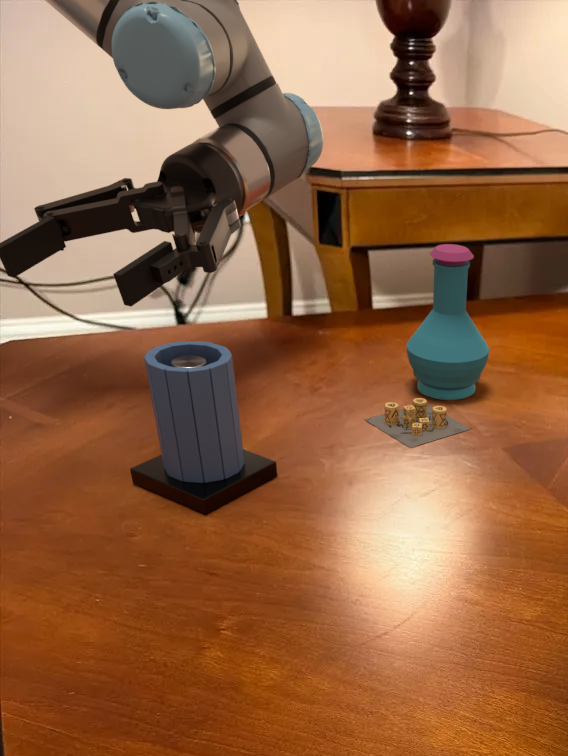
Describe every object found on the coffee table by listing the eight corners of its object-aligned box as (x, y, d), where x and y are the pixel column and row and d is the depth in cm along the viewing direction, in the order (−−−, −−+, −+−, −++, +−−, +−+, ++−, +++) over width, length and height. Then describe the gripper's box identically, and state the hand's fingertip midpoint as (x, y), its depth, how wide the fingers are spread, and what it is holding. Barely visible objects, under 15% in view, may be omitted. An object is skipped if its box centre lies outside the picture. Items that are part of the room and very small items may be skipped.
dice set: (381, 421, 91) (381, 404, 90) (420, 410, 94) (420, 393, 92) (411, 439, 88) (411, 421, 87) (449, 427, 91) (450, 410, 90)
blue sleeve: (148, 467, 77) (126, 356, 71) (205, 441, 82) (189, 335, 75) (203, 490, 74) (186, 377, 68) (259, 462, 79) (248, 354, 73)
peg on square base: (132, 483, 77) (107, 363, 71) (207, 448, 84) (190, 334, 77) (205, 515, 74) (186, 391, 67) (277, 476, 80) (267, 359, 73)
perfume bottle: (438, 411, 94) (443, 265, 85) (390, 382, 99) (389, 242, 90) (502, 393, 99) (514, 254, 89) (453, 367, 104) (459, 233, 95)
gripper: (324, 240, 86) (188, 345, 74) (130, 201, 94) (-22, 290, 81) (311, 159, 80) (161, 258, 68) (105, 125, 88) (-62, 208, 76)
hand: (61, 276), depth 75 cm, fingers open, 13 cm apart
